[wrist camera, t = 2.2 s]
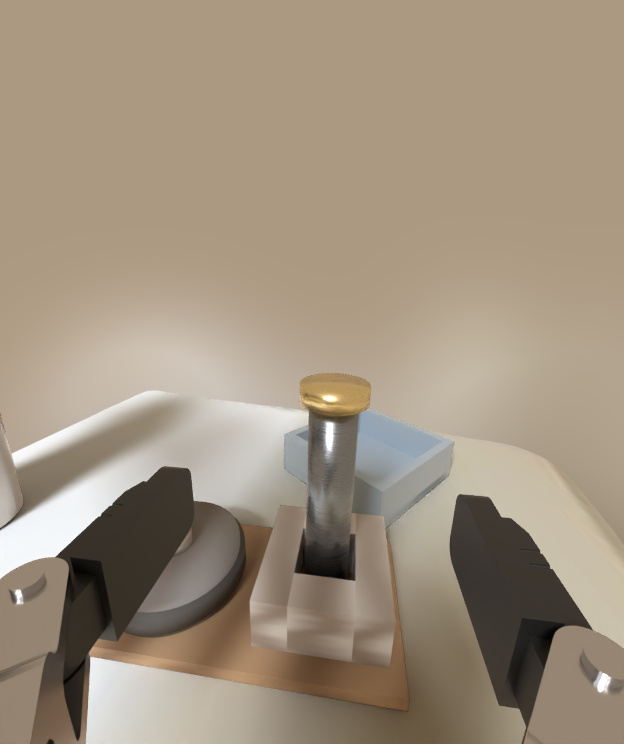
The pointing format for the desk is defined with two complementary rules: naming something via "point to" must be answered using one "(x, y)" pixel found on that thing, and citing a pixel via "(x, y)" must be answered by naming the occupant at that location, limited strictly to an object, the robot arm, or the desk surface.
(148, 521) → the robot arm
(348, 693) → the board
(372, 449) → the pin tray
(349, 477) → the lock pin
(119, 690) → the desk surface
